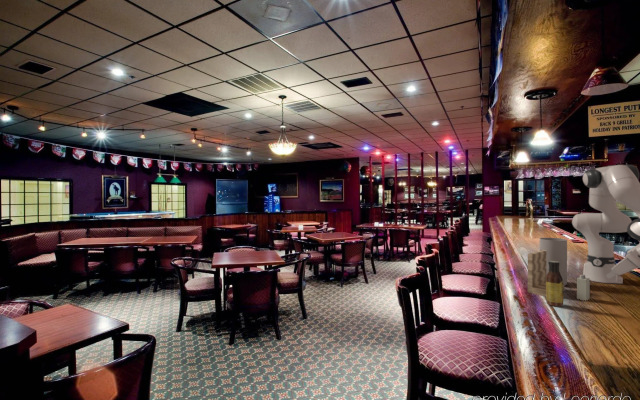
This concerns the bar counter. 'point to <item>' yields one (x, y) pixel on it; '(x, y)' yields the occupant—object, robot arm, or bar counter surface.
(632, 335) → the bar counter surface
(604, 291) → the bar counter surface
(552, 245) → the cylinder vase
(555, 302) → the sauce bottle
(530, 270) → the back board shelf
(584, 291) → the beige block
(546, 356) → the bar counter surface
